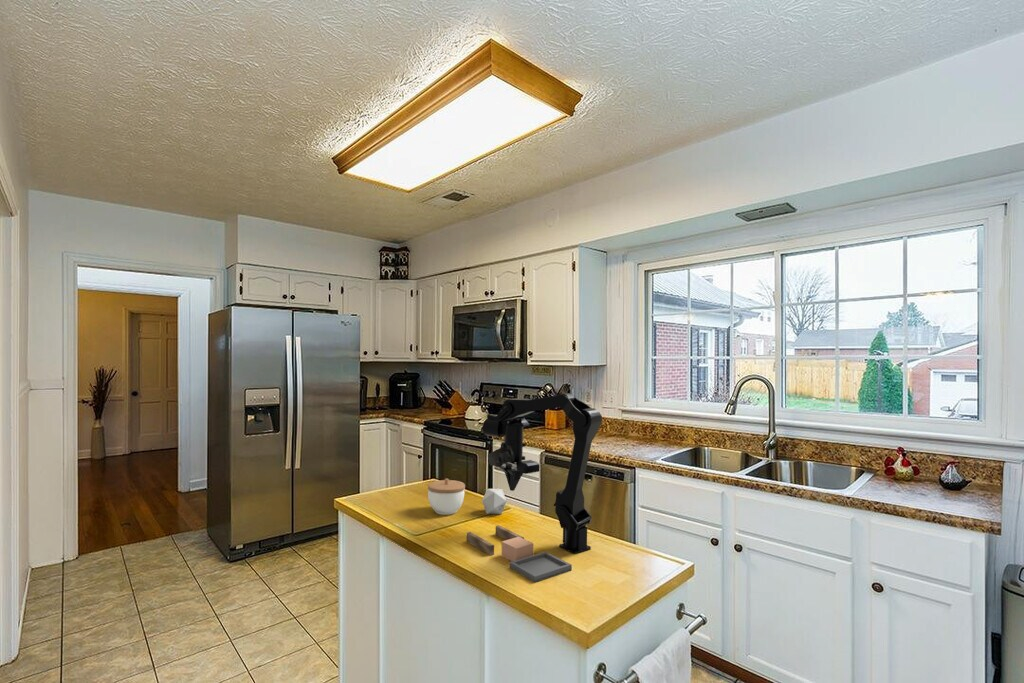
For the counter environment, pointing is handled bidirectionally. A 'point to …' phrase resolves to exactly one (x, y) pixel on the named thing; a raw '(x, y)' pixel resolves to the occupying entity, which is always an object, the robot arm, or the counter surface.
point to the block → (517, 548)
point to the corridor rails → (487, 546)
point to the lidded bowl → (446, 496)
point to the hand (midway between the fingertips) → (512, 490)
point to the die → (494, 501)
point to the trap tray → (540, 566)
